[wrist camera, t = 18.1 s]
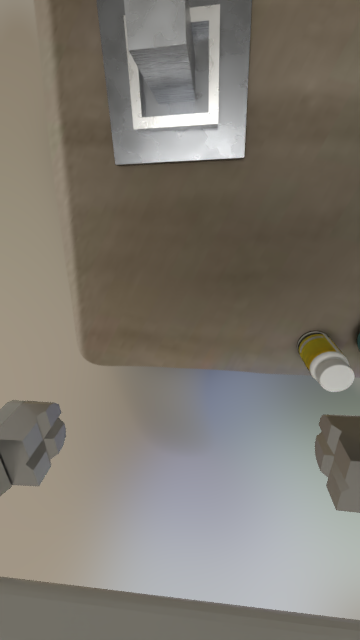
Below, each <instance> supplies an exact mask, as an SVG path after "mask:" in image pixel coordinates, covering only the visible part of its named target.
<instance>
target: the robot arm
mask: <svg viewBox="0 0 360 640" xmlns="http://www.w3.org/2000/svg"><path fill="white" fill-rule="evenodd" d="M60 414H61V410H60V407H59V404H56V403H51V402H50V403H49V402H37V401H18V400H12V401H10V402H7V403H6V404H5V405H4V406H3V407H2V408H1V409H0V496H1V495H2V494H3V493H5V492H6V491H7V490H8V489H10V488H11V487H12V485H23V486H24V485H25V486H39V485H40V483H41V482H42V480H43V479H44V477H45V475H46V474H47V472H48V470H49V469H50V467H51V462H50V459H52V458H53V457H54V456H56V455H57V454H59V451H60V450H61V448H62V447H63V444H64V441H65V437H66V428H65V424H64V422H63V421H61V420H60V419H59V418H58V417H59V415H60ZM319 426H320V428H321V431H322V432H321V433H320V434H319V435H317V436H316V441H315V455H316V459H317V463H318V466H319V468H320V471H321V472H322V473H323V474H325V475H326V476H327V477H328V481H327V485H326V486H327V488H328V491H329V493H330V496H331V498H332V501H333V503H334V506H335V508H336V510H339V511H349V512H359V513H360V416H349V415H347V416H346V415H322V416H321V418H320V422H319ZM0 640H360V620H353V619H345V618H337V617H328V616H321V615H312V614H304V613H296V612H288V611H279V610H271V609H263V608H255V607H247V606H238V605H230V604H222V603H214V602H206V601H197V600H189V599H181V598H173V597H164V596H156V595H148V594H140V593H132V592H124V591H114V590H107V589H99V588H90V587H82V586H74V585H66V584H57V583H49V582H41V581H32V580H25V579H16V578H8V577H0Z"/></svg>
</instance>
